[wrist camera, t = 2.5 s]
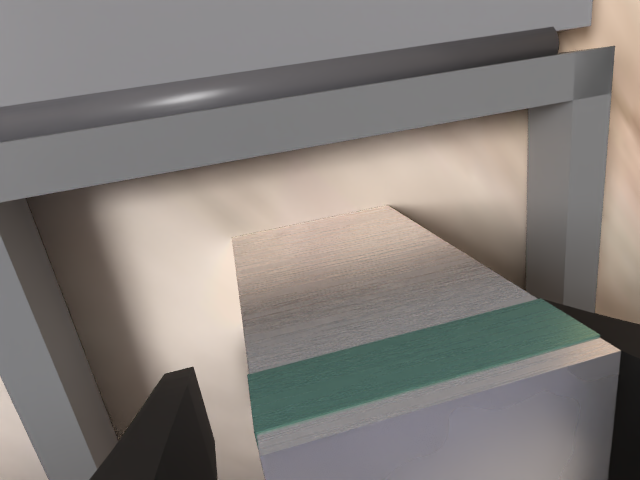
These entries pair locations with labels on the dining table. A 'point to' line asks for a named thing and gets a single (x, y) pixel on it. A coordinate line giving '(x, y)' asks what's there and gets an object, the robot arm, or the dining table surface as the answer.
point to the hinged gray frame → (267, 136)
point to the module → (413, 361)
